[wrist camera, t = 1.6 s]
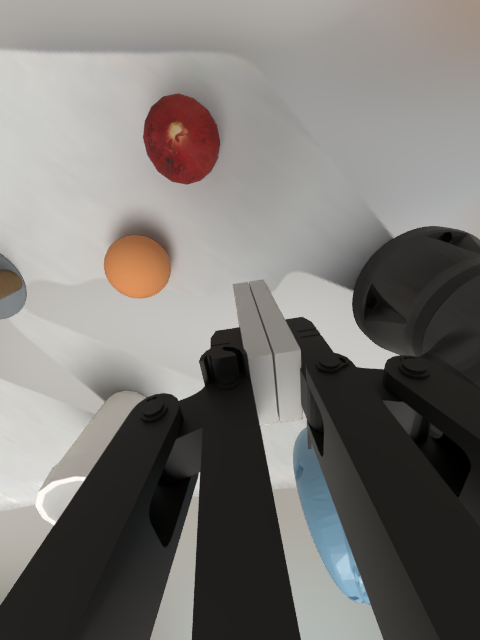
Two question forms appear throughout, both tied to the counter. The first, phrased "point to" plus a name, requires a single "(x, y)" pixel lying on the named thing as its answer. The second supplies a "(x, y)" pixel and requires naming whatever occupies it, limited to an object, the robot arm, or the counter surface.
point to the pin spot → (16, 299)
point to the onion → (181, 139)
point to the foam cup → (84, 455)
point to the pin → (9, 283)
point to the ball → (137, 266)
